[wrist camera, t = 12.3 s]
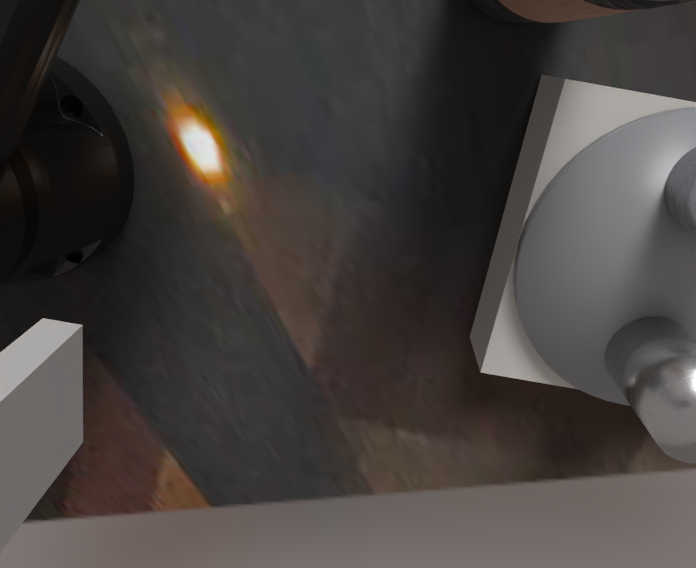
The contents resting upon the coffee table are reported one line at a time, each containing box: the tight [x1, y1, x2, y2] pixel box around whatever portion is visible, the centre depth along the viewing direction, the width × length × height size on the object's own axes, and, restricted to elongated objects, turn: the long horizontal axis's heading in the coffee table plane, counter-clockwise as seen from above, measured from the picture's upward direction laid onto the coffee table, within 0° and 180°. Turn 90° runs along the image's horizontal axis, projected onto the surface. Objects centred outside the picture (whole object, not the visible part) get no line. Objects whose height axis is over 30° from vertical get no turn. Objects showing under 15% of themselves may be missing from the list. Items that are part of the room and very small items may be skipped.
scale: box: [470, 75, 696, 406], centre depth 37 cm, size 20×18×6 cm
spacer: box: [605, 316, 696, 464], centre depth 33 cm, size 5×5×7 cm
